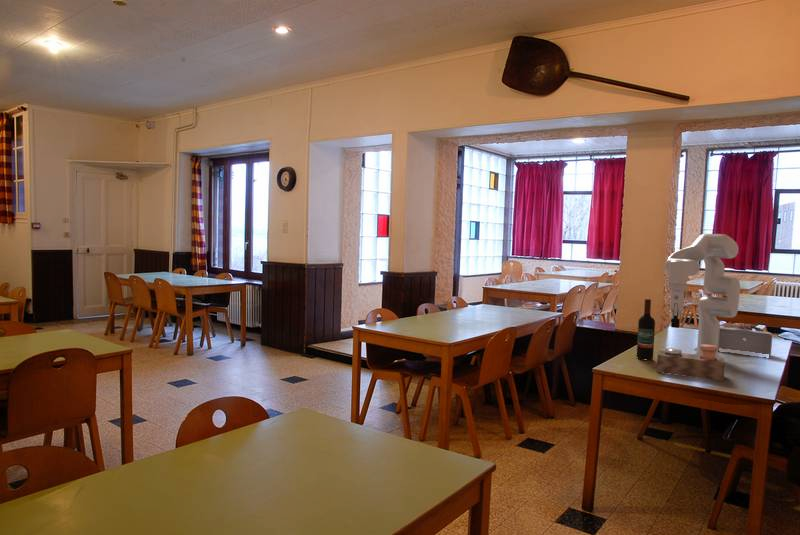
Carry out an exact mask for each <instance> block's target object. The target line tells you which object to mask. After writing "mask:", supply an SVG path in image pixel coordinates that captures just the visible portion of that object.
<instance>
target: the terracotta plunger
mask: <svg viewBox="0 0 800 535" xmlns="http://www.w3.org/2000/svg"><path fill="white" fill-rule="evenodd" d="M700 349H702V359H705V360H713V361H715V355H716V351H718V346H714V345H707V344H702V345H700Z"/></svg>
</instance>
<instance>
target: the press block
mask: <svg viewBox="0 0 800 535" xmlns="http://www.w3.org/2000/svg"><path fill="white" fill-rule="evenodd" d="M721 357H722V356H720V357H715V361H713V360H705V359H702V355H695V353H693V354H692V353H685V352H684V353H683V352H682V354H681V355H680V356H671V355H667V353H665V350H660V349H659V351H658V353H657V360H656V361H657V363H656V364H657V367H656V373H659V372H664V373H663V374H666V373H671V374H670V375H674V374H678V375H677V376H681V375H685V376H684V377H689V376H691V377H690V378H696V377H698V379H703V378H705V380H713V381H718V380H719V382H720V381H721V382H724V378H725V365H726V362H725V358H724V357H722V358H721Z"/></svg>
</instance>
